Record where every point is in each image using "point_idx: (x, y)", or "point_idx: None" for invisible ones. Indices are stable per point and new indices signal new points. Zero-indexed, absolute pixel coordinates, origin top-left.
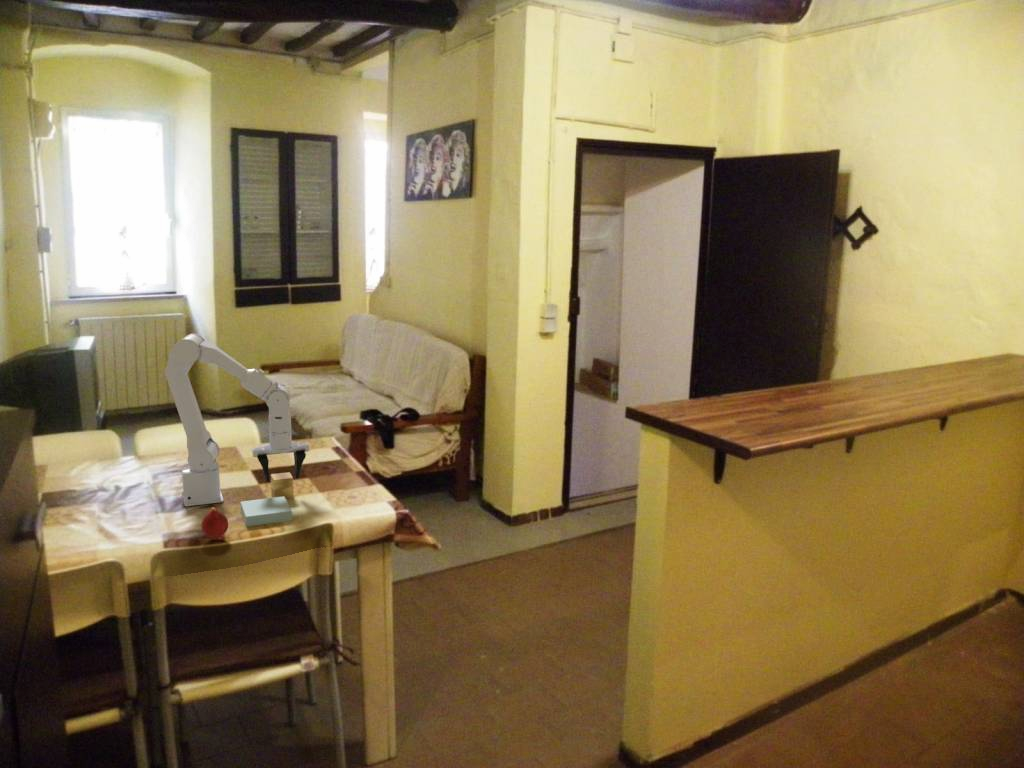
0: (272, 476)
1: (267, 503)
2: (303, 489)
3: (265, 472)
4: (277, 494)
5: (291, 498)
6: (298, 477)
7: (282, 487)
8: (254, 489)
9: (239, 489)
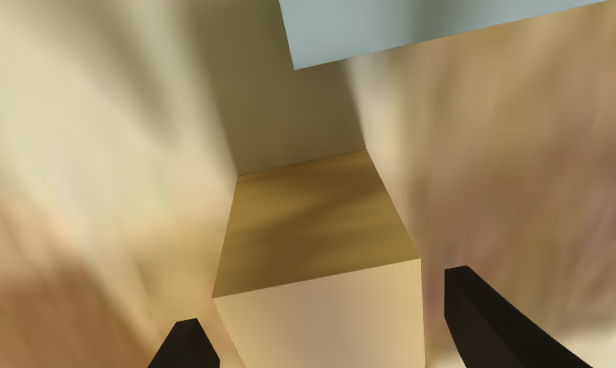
0: (418, 338)
1: None
2: (199, 303)
3: (556, 348)
4: (352, 177)
5: (251, 176)
6: (172, 329)
7: (317, 217)
8: None
9: None
